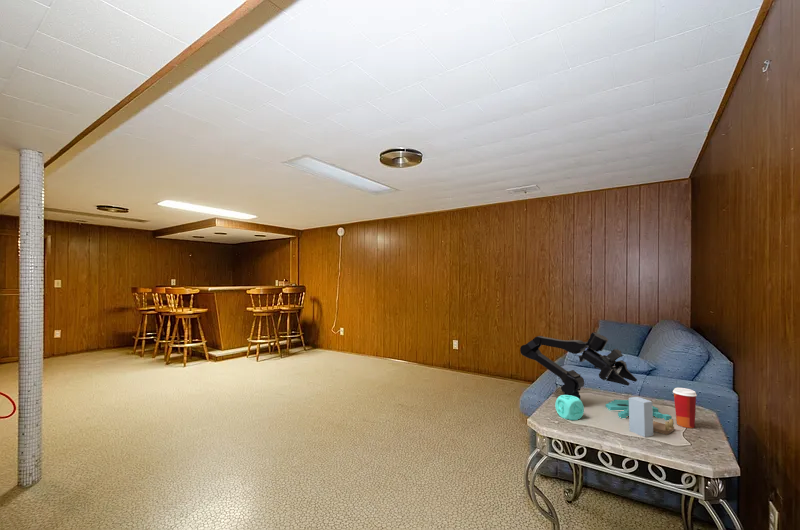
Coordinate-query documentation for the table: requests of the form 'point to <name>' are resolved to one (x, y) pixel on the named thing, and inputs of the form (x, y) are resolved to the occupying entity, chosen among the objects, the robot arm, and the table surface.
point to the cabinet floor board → (663, 427)
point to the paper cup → (685, 407)
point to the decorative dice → (569, 407)
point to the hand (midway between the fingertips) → (632, 382)
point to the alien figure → (625, 406)
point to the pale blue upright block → (641, 416)
